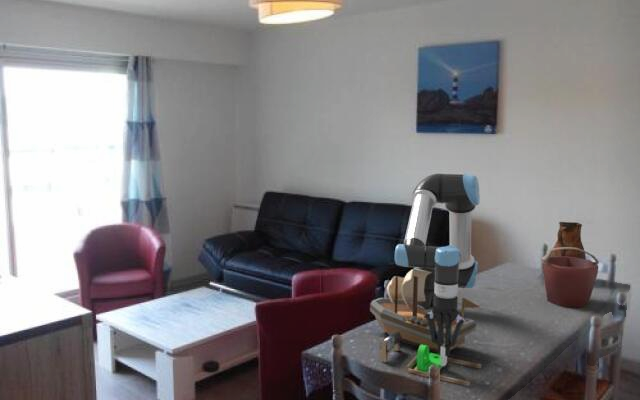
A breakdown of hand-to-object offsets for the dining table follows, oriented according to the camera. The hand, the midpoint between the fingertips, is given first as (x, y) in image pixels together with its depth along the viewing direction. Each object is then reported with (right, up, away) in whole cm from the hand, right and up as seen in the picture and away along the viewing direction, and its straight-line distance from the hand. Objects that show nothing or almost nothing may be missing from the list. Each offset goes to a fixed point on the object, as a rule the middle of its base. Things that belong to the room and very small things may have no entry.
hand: (443, 364), depth 189 cm
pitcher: (+85, +12, +104) cm, 135 cm away
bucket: (+71, +8, +72) cm, 101 cm away
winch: (-16, 0, +11) cm, 20 cm away
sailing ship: (-3, +1, +23) cm, 23 cm away
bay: (0, -2, 0) cm, 2 cm away
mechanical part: (-3, -2, +2) cm, 4 cm away
